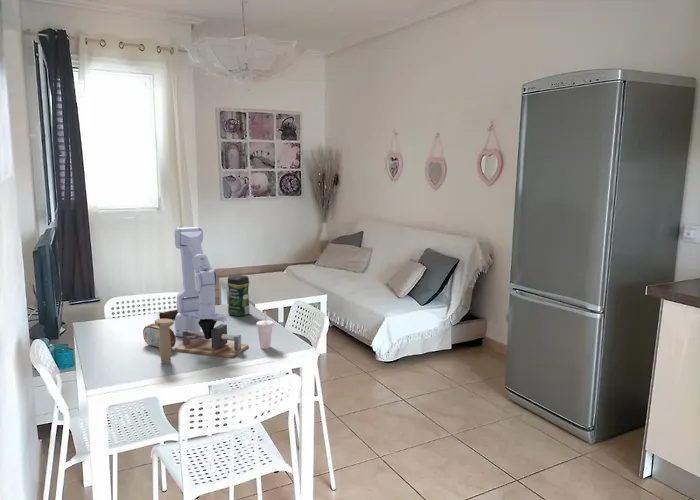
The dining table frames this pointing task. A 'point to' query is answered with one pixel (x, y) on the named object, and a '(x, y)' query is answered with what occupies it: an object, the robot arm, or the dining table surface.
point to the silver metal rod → (200, 334)
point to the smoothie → (264, 332)
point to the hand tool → (168, 314)
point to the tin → (155, 336)
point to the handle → (164, 339)
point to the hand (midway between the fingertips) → (208, 338)
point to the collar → (218, 336)
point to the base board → (210, 348)
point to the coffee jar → (238, 295)
